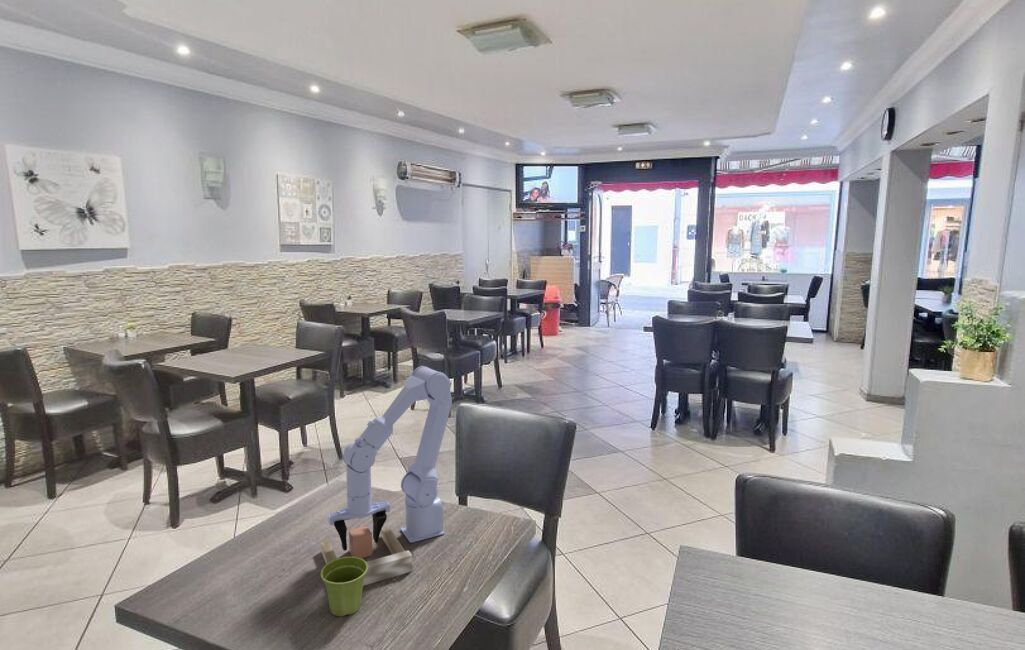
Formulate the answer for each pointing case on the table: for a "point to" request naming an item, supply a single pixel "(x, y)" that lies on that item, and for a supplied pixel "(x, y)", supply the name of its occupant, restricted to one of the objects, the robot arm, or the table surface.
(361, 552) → the block
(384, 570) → the wooden u-shaped frame
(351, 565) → the plant pot
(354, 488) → the robot arm
